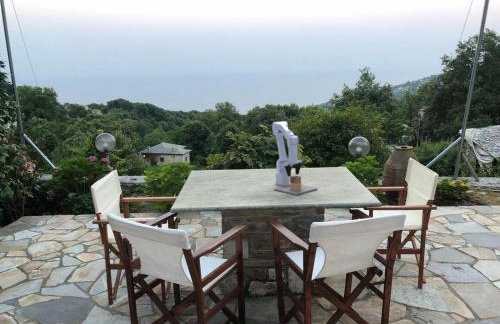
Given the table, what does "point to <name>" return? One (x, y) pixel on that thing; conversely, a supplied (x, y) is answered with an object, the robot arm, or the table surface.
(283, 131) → the robot arm
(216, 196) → the table surface
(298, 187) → the brick terracotta
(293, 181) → the brick walnut
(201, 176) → the table surface
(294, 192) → the tower board
